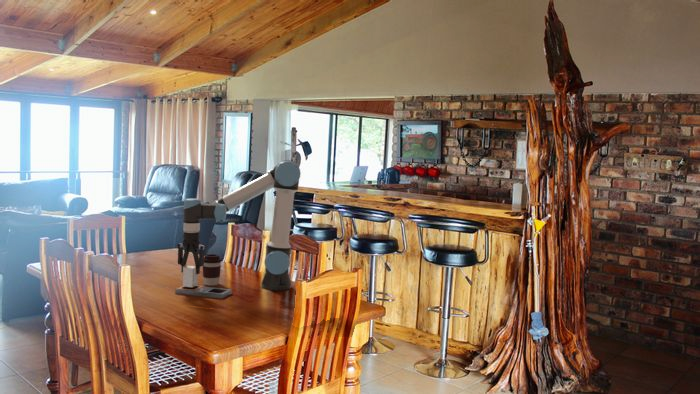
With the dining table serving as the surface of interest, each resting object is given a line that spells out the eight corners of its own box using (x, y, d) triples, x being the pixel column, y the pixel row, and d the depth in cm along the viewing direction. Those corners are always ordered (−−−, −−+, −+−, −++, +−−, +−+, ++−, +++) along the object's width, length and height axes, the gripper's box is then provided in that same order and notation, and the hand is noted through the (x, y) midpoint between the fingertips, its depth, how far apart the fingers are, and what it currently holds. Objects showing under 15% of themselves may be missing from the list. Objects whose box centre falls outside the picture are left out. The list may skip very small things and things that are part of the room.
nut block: (197, 285, 280) (198, 266, 280) (192, 287, 275) (192, 268, 275) (188, 284, 282) (188, 265, 281) (182, 286, 277) (183, 267, 276)
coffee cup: (216, 287, 291) (217, 257, 290) (197, 286, 293) (198, 256, 292) (224, 283, 301) (225, 254, 300) (206, 281, 303) (207, 252, 302)
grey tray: (231, 294, 279) (231, 288, 279) (222, 299, 269) (222, 293, 269) (186, 289, 285) (186, 284, 285) (175, 294, 275) (175, 288, 275)
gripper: (212, 232, 278) (211, 280, 280) (178, 228, 282) (177, 276, 284) (205, 234, 271) (203, 283, 272) (170, 230, 275) (169, 279, 277)
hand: (190, 280), depth 278 cm, fingers closed on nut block, 5 cm apart
